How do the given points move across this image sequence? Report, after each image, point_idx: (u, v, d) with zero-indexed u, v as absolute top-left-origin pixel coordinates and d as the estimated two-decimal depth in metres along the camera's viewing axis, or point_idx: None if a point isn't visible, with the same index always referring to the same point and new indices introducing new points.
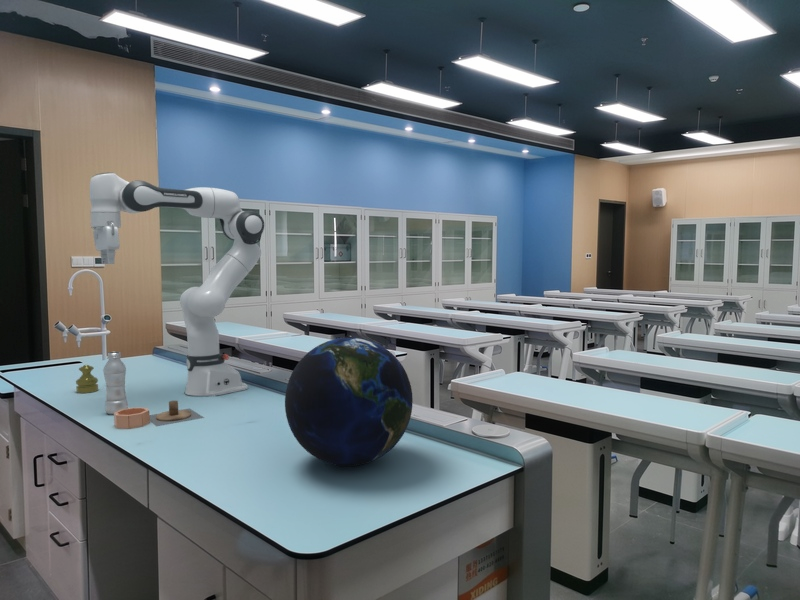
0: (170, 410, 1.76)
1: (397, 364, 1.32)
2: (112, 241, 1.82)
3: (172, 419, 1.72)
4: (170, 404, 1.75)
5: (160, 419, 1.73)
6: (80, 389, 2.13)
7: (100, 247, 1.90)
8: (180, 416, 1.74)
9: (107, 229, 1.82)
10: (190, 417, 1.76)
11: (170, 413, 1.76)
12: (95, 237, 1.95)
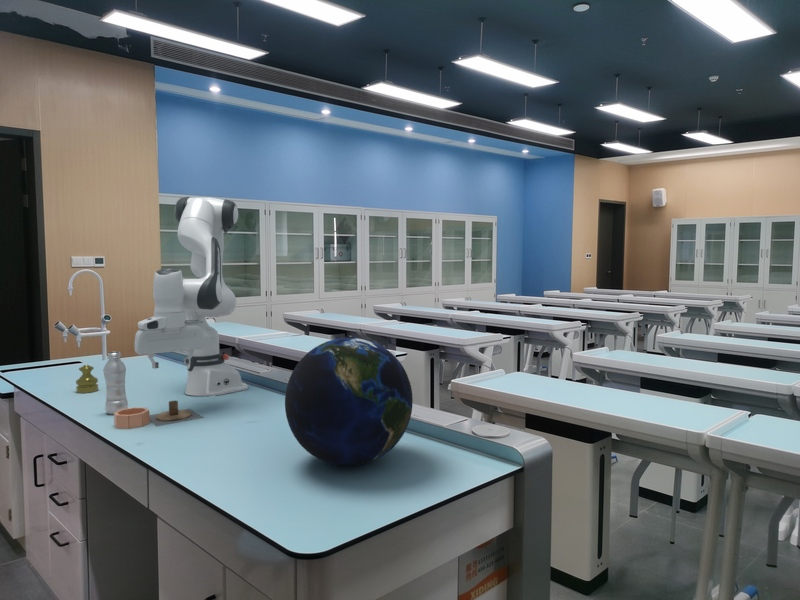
0: (170, 410, 1.76)
1: (397, 364, 1.32)
2: None
3: (172, 419, 1.72)
4: (170, 404, 1.75)
5: (160, 419, 1.73)
6: (80, 389, 2.13)
7: (168, 349, 1.73)
8: (180, 416, 1.74)
9: (201, 328, 1.79)
10: (190, 417, 1.76)
11: (170, 413, 1.76)
12: (144, 339, 1.69)
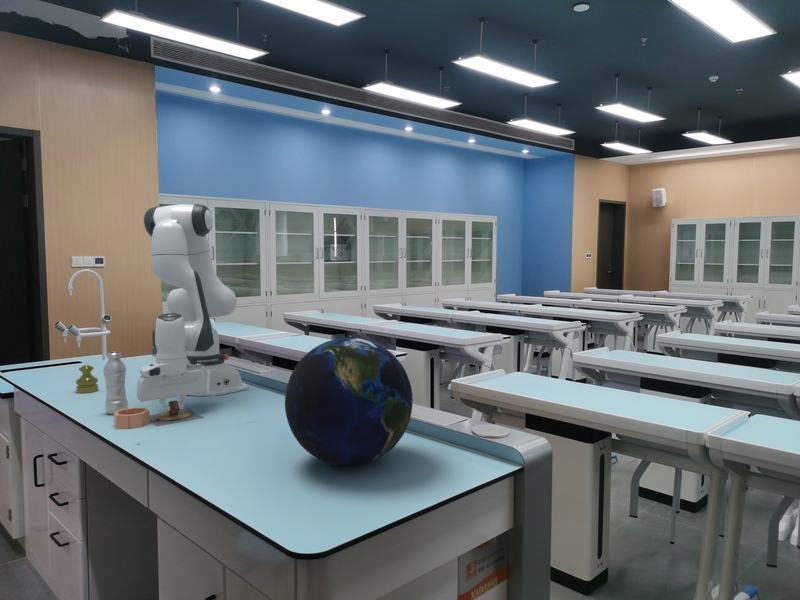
0: (170, 410, 1.76)
1: (397, 364, 1.32)
2: None
3: (172, 419, 1.72)
4: (170, 404, 1.75)
5: (160, 419, 1.73)
6: (80, 389, 2.13)
7: (170, 394, 1.74)
8: (180, 416, 1.74)
9: (203, 372, 1.81)
10: (190, 417, 1.76)
11: (170, 413, 1.76)
12: (146, 386, 1.70)
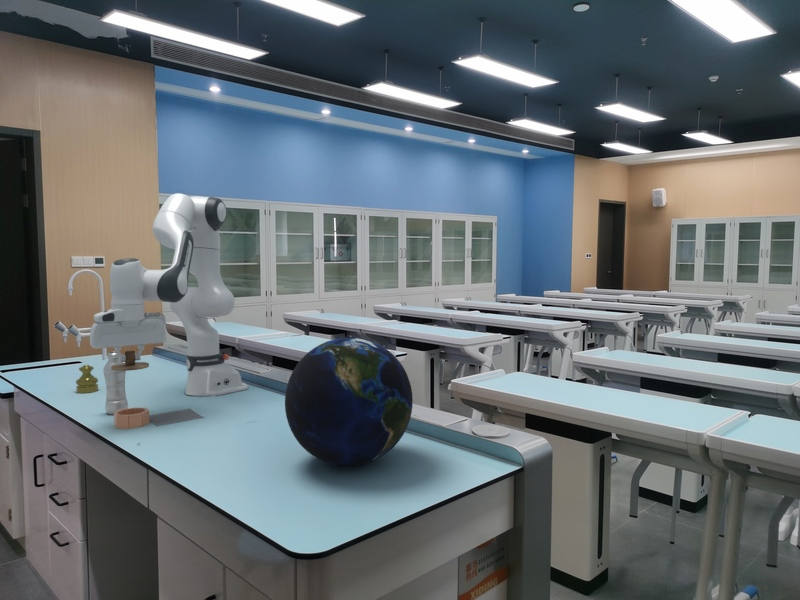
0: (126, 360, 1.67)
1: (397, 364, 1.32)
2: None
3: (128, 368, 1.64)
4: (126, 354, 1.67)
5: (115, 368, 1.64)
6: (80, 389, 2.13)
7: (126, 343, 1.66)
8: (136, 366, 1.66)
9: (162, 322, 1.72)
10: (190, 417, 1.76)
11: (126, 363, 1.67)
12: (99, 333, 1.61)
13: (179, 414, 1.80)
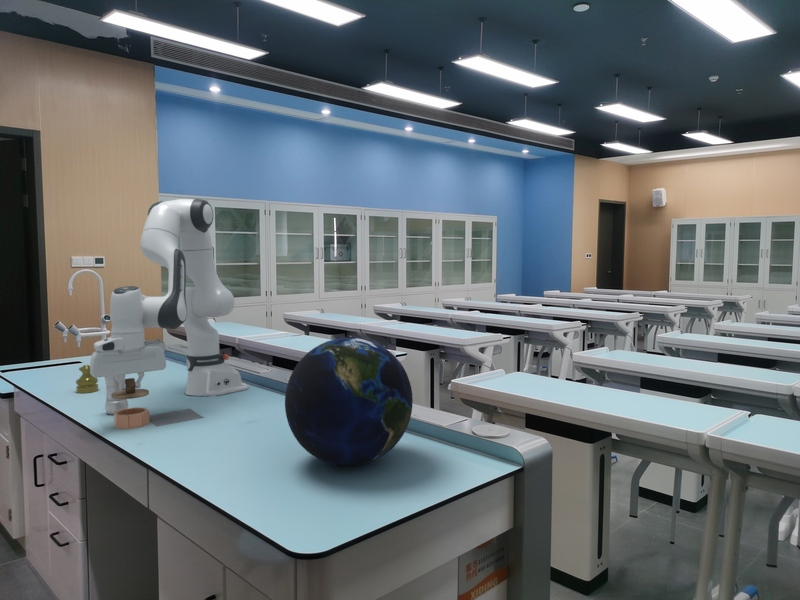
0: (126, 388, 1.67)
1: (397, 364, 1.32)
2: None
3: (128, 397, 1.64)
4: (126, 381, 1.67)
5: (115, 397, 1.64)
6: (80, 389, 2.13)
7: (126, 371, 1.66)
8: (136, 394, 1.66)
9: (162, 349, 1.72)
10: (190, 417, 1.76)
11: (126, 391, 1.68)
12: (100, 362, 1.62)
13: (179, 414, 1.80)
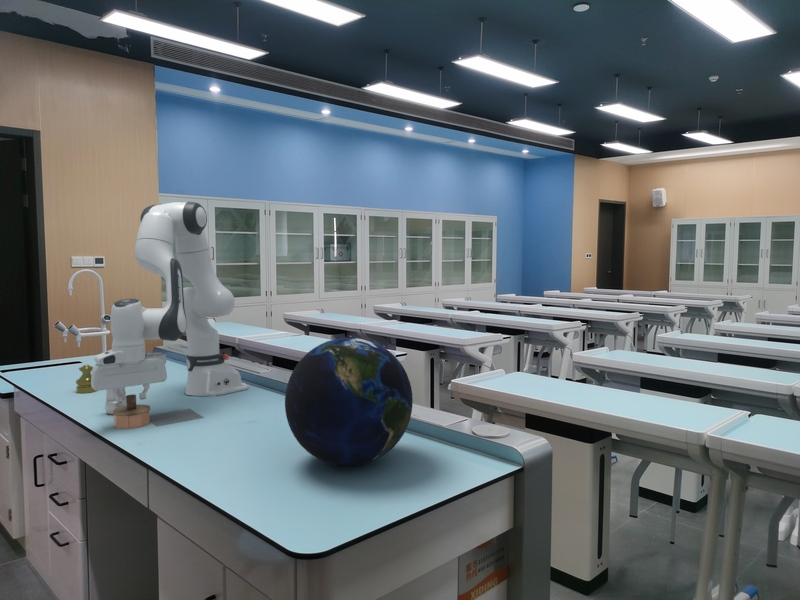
0: (127, 404, 1.68)
1: (397, 364, 1.32)
2: None
3: (129, 413, 1.65)
4: (127, 398, 1.68)
5: (116, 414, 1.65)
6: (80, 389, 2.13)
7: (127, 384, 1.67)
8: (138, 410, 1.67)
9: (163, 361, 1.73)
10: (190, 417, 1.76)
11: (127, 407, 1.68)
12: (101, 375, 1.62)
13: (179, 414, 1.80)
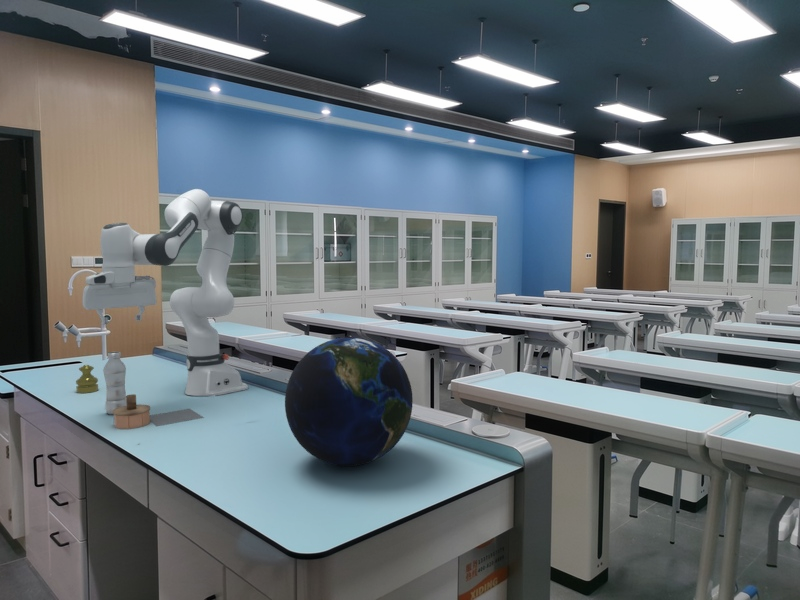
0: (127, 404, 1.68)
1: (397, 364, 1.32)
2: None
3: (129, 413, 1.65)
4: (127, 398, 1.68)
5: (116, 414, 1.65)
6: (80, 389, 2.13)
7: (117, 305, 1.72)
8: (138, 410, 1.67)
9: (152, 284, 1.78)
10: (190, 417, 1.76)
11: (127, 407, 1.68)
12: (92, 294, 1.67)
13: (179, 414, 1.80)
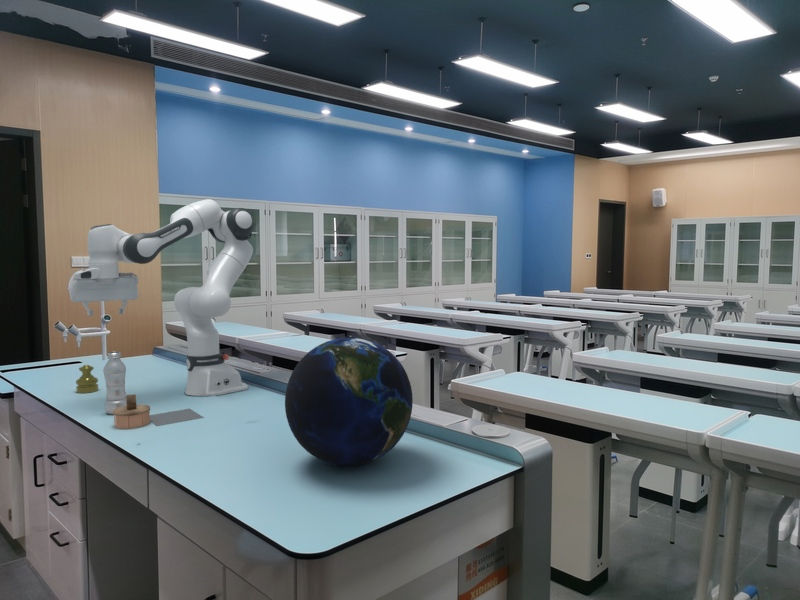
0: (127, 404, 1.68)
1: (397, 364, 1.32)
2: None
3: (129, 413, 1.65)
4: (127, 398, 1.68)
5: (116, 414, 1.65)
6: (80, 389, 2.13)
7: (102, 298, 1.89)
8: (138, 410, 1.67)
9: (135, 281, 1.95)
10: (190, 417, 1.76)
11: (127, 407, 1.68)
12: (78, 288, 1.84)
13: (179, 414, 1.80)
